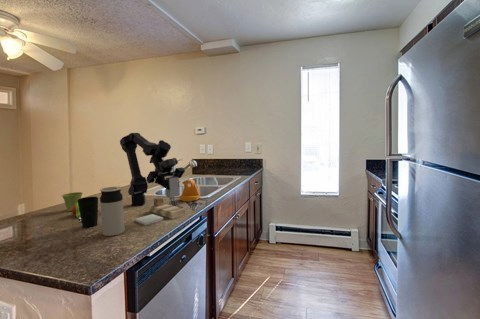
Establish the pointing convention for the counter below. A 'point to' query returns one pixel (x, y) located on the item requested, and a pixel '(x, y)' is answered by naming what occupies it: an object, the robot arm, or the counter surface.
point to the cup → (88, 211)
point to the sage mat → (149, 219)
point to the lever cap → (172, 187)
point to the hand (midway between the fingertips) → (174, 188)
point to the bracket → (190, 191)
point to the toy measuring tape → (76, 211)
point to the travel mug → (112, 211)
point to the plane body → (166, 209)
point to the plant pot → (71, 199)
